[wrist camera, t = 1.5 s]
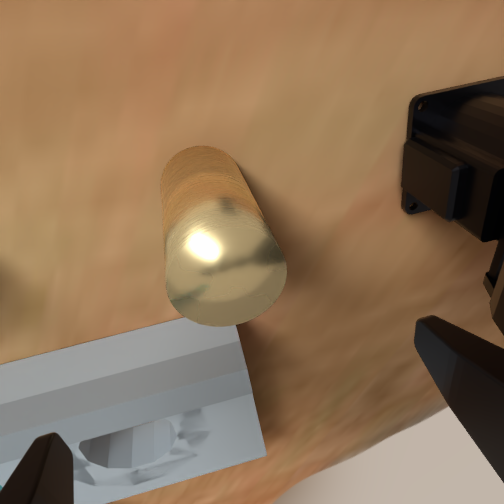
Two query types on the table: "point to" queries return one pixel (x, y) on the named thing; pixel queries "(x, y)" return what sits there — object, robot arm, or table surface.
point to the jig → (135, 408)
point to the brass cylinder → (216, 241)
